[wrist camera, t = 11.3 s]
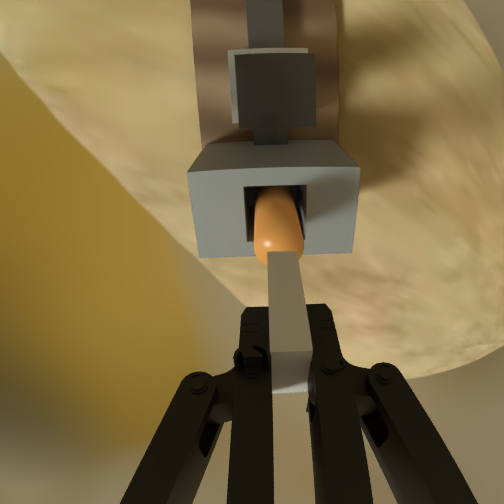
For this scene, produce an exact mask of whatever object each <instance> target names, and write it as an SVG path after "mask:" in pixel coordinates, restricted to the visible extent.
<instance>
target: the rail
mask: <svg viewBox="0 0 504 504" xmlns="http://www.w3.org/2000/svg"><path fill="white" fill-rule="evenodd" d="M246 14H247V31H248V47H249V49H255V48H285V41H284V23H283V7H282V0H246ZM253 137H254V146H256V145H288V127H266V128H253Z"/></svg>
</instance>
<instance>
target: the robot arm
mask: <svg viewBox="0 0 504 504" xmlns="http://www.w3.org/2000/svg"><path fill="white" fill-rule="evenodd" d="M267 266H268V301H269V307H246V309H245V310H244V312H243V313H242V315H241V326H240V339H239V348H238V349H237V350H236V351H235V353H234V356H233V359H234V365H235V366H234V368H232V369H231V370H230V371H228V372H226V373H223V374H220V375H216V376H211V375H210V374H208V373H205V372H194V373H191V374H189V375H187V376H186V377H185V378H184V379H183V380H182V381H181V383H180V386H179V387H178V389H177V391H176V393H175V395H174V397H173V399H172V401H171V403H170V405H169V407H168V409H167V411H166V413H165V415H164V417H163V419H162V421H161V423H160V425H159V427H158V429H157V431H156V433H155V435H154V437H153V439H152V441H151V443H150V445H149V446H148V449H147V450H146V452H145V455H144V457H143V458H142V460H141V462H140V464H139V466H138V468H137V470H136V472H135V474H134V476H133V478H132V480H131V482H130V484H129V486H128V488H127V490H126V492H125V494H124V496H123V498H122V500H121V502H120V504H192V503H193V500H194V498H195V495H196V493H197V490H198V488H199V485H200V483H201V480H202V478H203V476H204V473H205V470H206V468H207V465H208V463H209V460H210V458H211V455H212V453H213V450H214V448H215V445H216V442H217V440H218V437H219V435H220V432H221V429H222V427H223V424H224V422H228V421H231V420H232V428H231V443H230V459H229V475H228V490H227V504H274V467H273V466H274V464H273V411H272V410H273V408H272V393H291V392H307V388H308V394H309V397H308V404H307V409H306V412H308V413H309V423H310V434H311V447H312V460H313V472H314V487H315V503H316V504H373V498H372V490H371V484H370V477H369V471H368V464H367V458H366V452H365V447H364V441H363V435H362V430H363V432H364V434H365V436H366V438H367V440H368V442H369V444H370V446H371V448H372V450H373V452H374V454H375V457H376V459H377V461H378V463H379V465H380V467H381V469H382V471H383V473H384V475H385V478H386V480H387V482H388V484H389V486H390V488H391V490H392V492H393V494H394V497H395V499H396V501H397V503H398V504H478V503H477V501H476V499H475V497H474V495H473V493H472V492H471V490H470V488H469V486H468V484H467V482H466V480H465V478H464V477H463V475H462V473H461V471H460V470H459V468H458V466H457V464H456V462H455V461H454V459H453V457H452V456H451V454H450V452H449V450H448V449H447V447H446V445H445V443H444V442H443V440H442V438H441V436H440V435H439V433H438V431H437V430H436V428H435V426H434V425H433V423H432V421H431V420H430V418H429V417H428V415H427V413H426V412H425V410H424V409H423V407H422V405H421V404H420V402H419V400H418V399H417V397H416V396H415V394H414V392H413V391H412V389H411V388H410V386H409V385H408V383H407V381H406V380H405V378H404V377H403V375H402V374H401V372H400V371H399V369H398V368H397V367H396V366H394V365H392V364H390V363H385V362H382V363H377V364H375V365H373V366H372V367H371V369H367V368H362V367H357V366H353V365H352V364H350V363H348V362H347V361H346V360H345V359H344V358H343V356H342V353H341V349H340V345H339V341H338V336H337V332H336V328H335V324H334V321H333V316H332V312H331V310H330V309H329V308H328V306H327V305H326V304H306V303H305V297H304V291H303V285H302V279H301V274H300V268H299V262H298V257H297V251H274V252H267ZM361 428H362V430H361Z"/></svg>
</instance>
